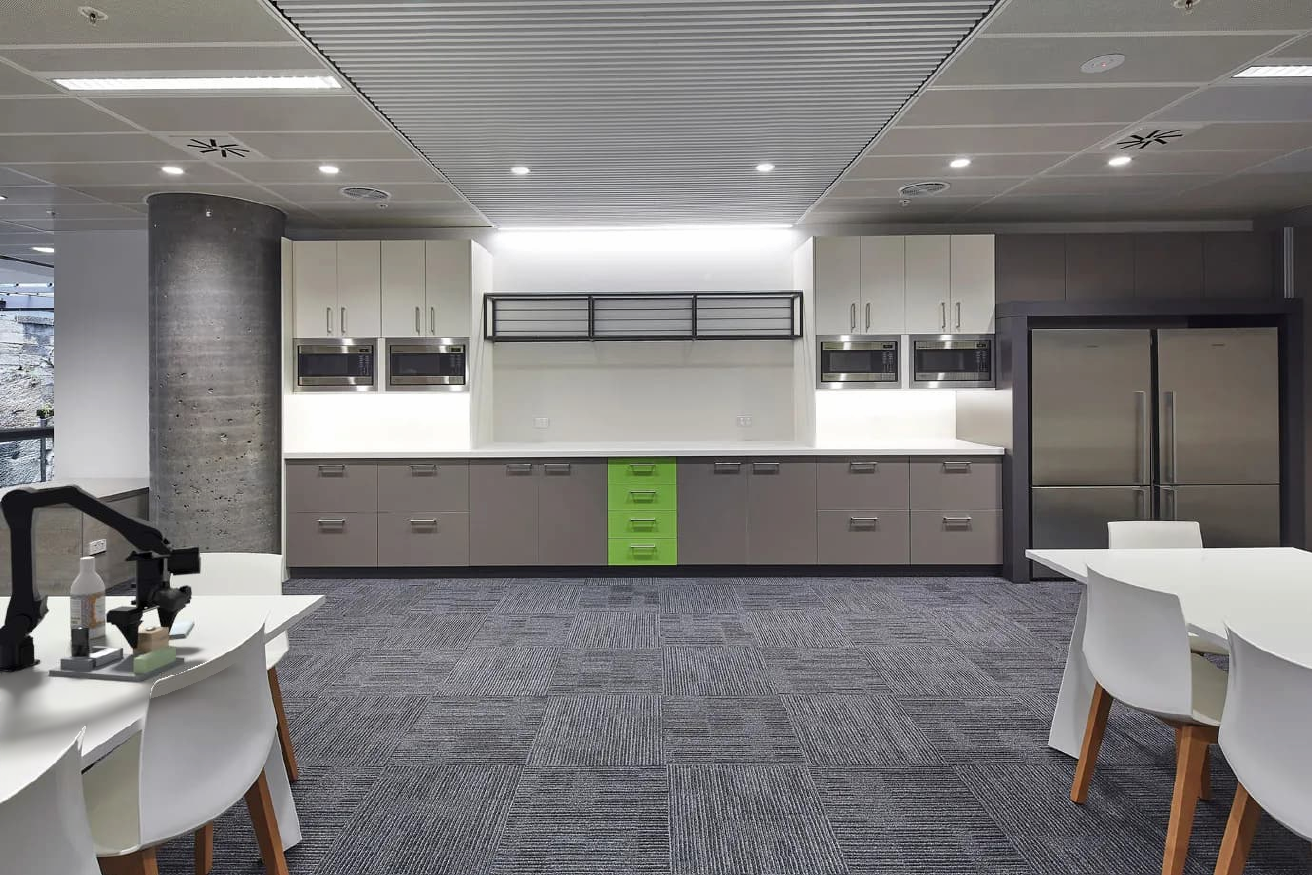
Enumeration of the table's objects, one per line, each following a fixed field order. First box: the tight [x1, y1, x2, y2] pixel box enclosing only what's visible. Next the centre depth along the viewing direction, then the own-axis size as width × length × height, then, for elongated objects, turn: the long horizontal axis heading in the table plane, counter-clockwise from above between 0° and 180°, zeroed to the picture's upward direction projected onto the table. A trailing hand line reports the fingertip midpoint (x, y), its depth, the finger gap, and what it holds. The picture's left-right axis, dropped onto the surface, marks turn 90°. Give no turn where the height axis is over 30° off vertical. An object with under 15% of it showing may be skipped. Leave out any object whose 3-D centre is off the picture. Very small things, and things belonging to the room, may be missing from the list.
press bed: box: [48, 645, 185, 682], centre depth 160 cm, size 22×12×4 cm, turn 83°
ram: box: [69, 626, 120, 667], centre depth 161 cm, size 9×6×7 cm
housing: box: [132, 625, 170, 655], centre depth 172 cm, size 5×5×5 cm
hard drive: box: [156, 620, 195, 640], centre depth 186 cm, size 2×8×12 cm
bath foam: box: [69, 556, 107, 640], centre depth 181 cm, size 7×7×20 cm
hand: (150, 642), depth 172 cm, fingers open, 9 cm apart
